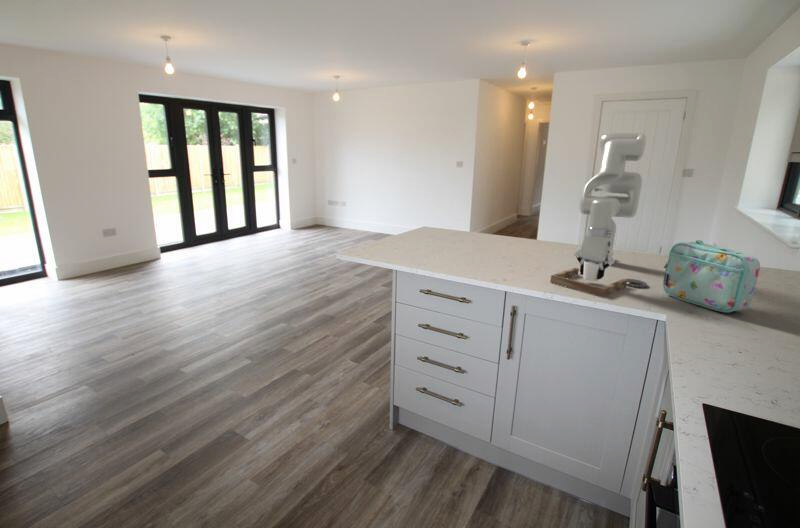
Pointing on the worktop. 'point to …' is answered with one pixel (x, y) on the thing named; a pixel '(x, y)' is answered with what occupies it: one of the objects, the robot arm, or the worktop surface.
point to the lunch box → (711, 276)
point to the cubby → (599, 291)
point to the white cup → (591, 270)
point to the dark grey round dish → (636, 283)
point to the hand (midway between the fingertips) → (591, 275)
